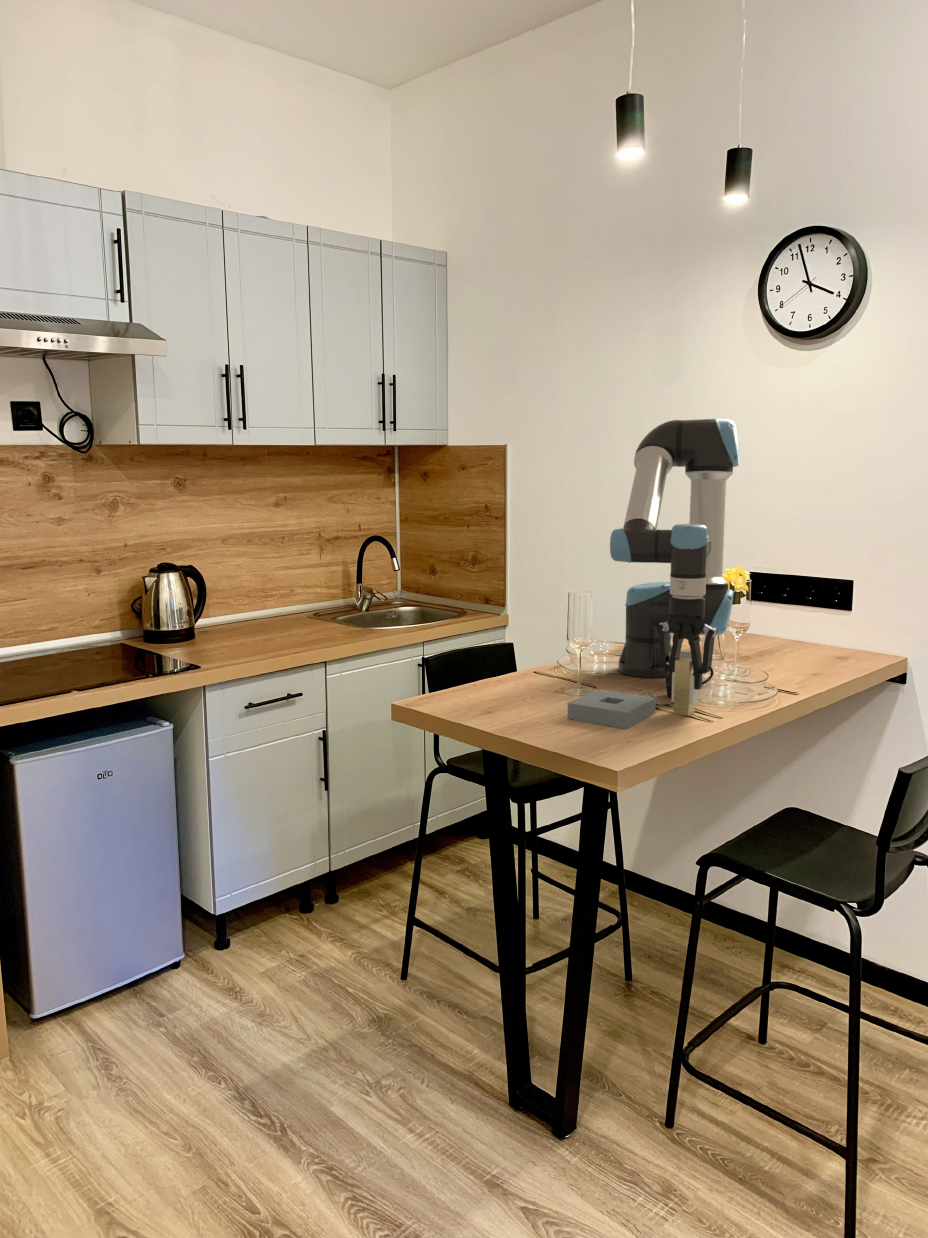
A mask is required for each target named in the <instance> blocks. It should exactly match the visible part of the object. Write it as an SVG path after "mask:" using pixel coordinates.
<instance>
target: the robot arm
mask: <svg viewBox="0 0 928 1238" xmlns="http://www.w3.org/2000/svg"><path fill="white" fill-rule="evenodd" d="M739 456H740V452H739V441H738V433H737V428H736V424H735V421H733V420H731V419H725V418H724V419H721V418H707V419H706V418H705V419H687V420H686V419H681V420H680V419H674V420H668V421H666V422H664V423H661V424H660V425H658V426H656V427H655V428H653V429H652V430H651V431H649V432H648V433H647V434H646V435H645V436H644V437H643V439H642V440H641V441H640V443H639V445H638V447H637V449H636V451H635V453H634V457H633V465H634V468H635V473H634V477H633V478H634V479H633V483H632V487H631V490H630V496H629V501H628V505H627V509H626V514H625V518H624V523H623V526H622V528H621V527H620V528H616V529H613V530H612V532H611V534H610V539H609V553H610V557H611V559H612V560H613V561H614V562H619V563H620V562H621V563H629V564H630V563H643V564H644V563H647V564H648V563H649V564H650V563H652V564H653V563H656V564H657V563H658V564H670V574H669V575H670V576H669V577H670V579H669V581H654V582H646V583H639V584H636V585H632V586H631V587H629V588H628V589H627V591H626V598H625V599H626V600H625V601H626V602H625V604H624V606H625V643H624V645H623V648H622V651H621V654H620V657H619V658H618V663H617V664H618V666H617V668H618V672H619V673H621V674H623V675H627V676H630V677H636V678H637V677H638V678H666V677H665V669H667V670H668V684H669V686H672V699H671V702H673V703H674V682H675V660H677V659H679V657H680V652H681V651H682V646H683V642H684V640H687V643H688V645H689V650H690V651H689V652H691V658H692V665H693V673H692V675H690V697H689V704H691V705H693V704H695V705H696V704H697V703H698V697H699V696H698V695H699V694H698V691H699V690H701V688H702V687H703V685H702V682H703V674H704V675H705V674H707V673H709V672H711V667H712V665H713V654H714V646H715V638H716V636H723V635H724V634H725V633H726V632H727V630H728V627H729V623H730V618H731V614H732V613H731V612H732V608H733V600H734V597H735V596H734V594H735V591H734V590H732V589H729V582H728V581H727V580H726V578H724V577H723V571H724V570H723V568H724V567H723V565H724V563H723V562H724V541H725V539H724V538H725V515H726V493H727V491H726V489H727V480H728V479H729V478H730V477H731V476H733V474H734V468H736V467H739V466H740V457H739ZM673 467H677V468H679V467H682V468H683V467H684V468H685V469H684V471H685V473H684V474H685V475H686V477H687V478H688V479H689V480H690V497H689V498H690V501H689V502H690V503H689V523H680V524H679V523H678V524H675V525H673V526H672V528H671V529H658V527H657V526H658V522H659V517H660V513H661V507H662V503H663V502H662V501H663V497H664V490H665V485H666V480H667V475H668V474H669V473H670V472H671V470H672V468H673ZM672 634H673V636H672ZM700 635H701V636H704V637H705V638H704V643H703V651H701V645H700V641H701V637H700ZM669 652H671V654H670V656H669ZM701 652H702V653H703V654H702V653H701ZM712 668H713V667H712Z"/></svg>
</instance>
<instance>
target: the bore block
mask: <svg viewBox="0 0 928 1238" xmlns="http://www.w3.org/2000/svg"><path fill="white" fill-rule="evenodd" d="M656 699H657V698H655V697H652V696H651V697H650V696H643V695H635V694H629V693H625V692H624V693H623V692H617V691H611V690H605V689H597V690H594V691H593V692H589V693H588V694H585V695H583V696H580V697H578V698H575V699H574V700H571V701H568V702H567V719H569V720H574V721H580V722H585V723H590V724H595V725H602V726H608V727H611V728H613V727H614V728H619V729H623V730H627V729H630V728H632V727H633V726H635V725H637V724H638V723H640V722H642V721H644V720H646V719H648V718H649V717H652V716H654V715H655V714H656V705H657V704H656V702H657V700H656Z"/></svg>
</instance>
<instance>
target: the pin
mask: <svg viewBox="0 0 928 1238" xmlns="http://www.w3.org/2000/svg"><path fill="white" fill-rule="evenodd" d="M692 673H693V665H692V659H689V658H679V659H677V660H675V682H674V702H673V715H679V716H680V715H681V716H686V717H689V716H691V715H693V714H694V713H695V708H696V703H695V704H693V705H691V704H689V697H690V675H692Z"/></svg>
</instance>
